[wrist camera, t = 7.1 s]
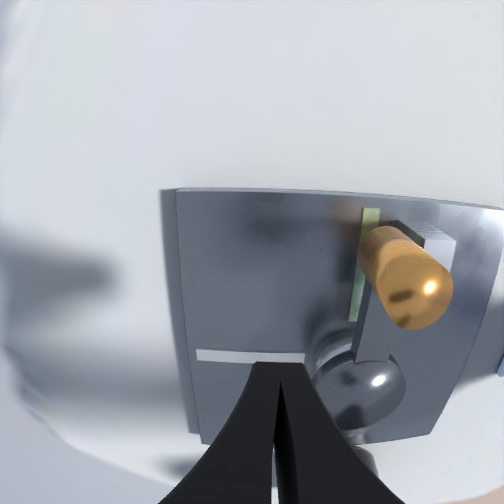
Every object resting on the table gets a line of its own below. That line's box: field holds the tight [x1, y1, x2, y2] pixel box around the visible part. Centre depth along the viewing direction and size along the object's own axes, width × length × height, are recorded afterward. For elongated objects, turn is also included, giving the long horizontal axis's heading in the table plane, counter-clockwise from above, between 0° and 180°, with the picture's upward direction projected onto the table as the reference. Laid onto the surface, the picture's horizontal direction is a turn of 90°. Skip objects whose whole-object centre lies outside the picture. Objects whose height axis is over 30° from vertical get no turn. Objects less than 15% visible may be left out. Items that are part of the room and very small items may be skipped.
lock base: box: [176, 188, 504, 448], centre depth 16 cm, size 18×18×4 cm
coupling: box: [312, 226, 453, 430], centre depth 12 cm, size 11×5×4 cm, turn 178°
